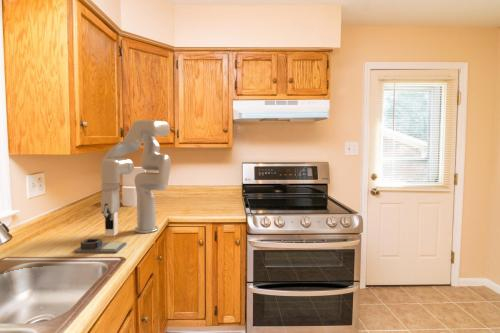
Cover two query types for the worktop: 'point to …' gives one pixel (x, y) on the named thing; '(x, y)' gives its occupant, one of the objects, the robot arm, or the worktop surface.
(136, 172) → the white tall block
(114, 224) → the plug
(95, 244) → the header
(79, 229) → the worktop surface
